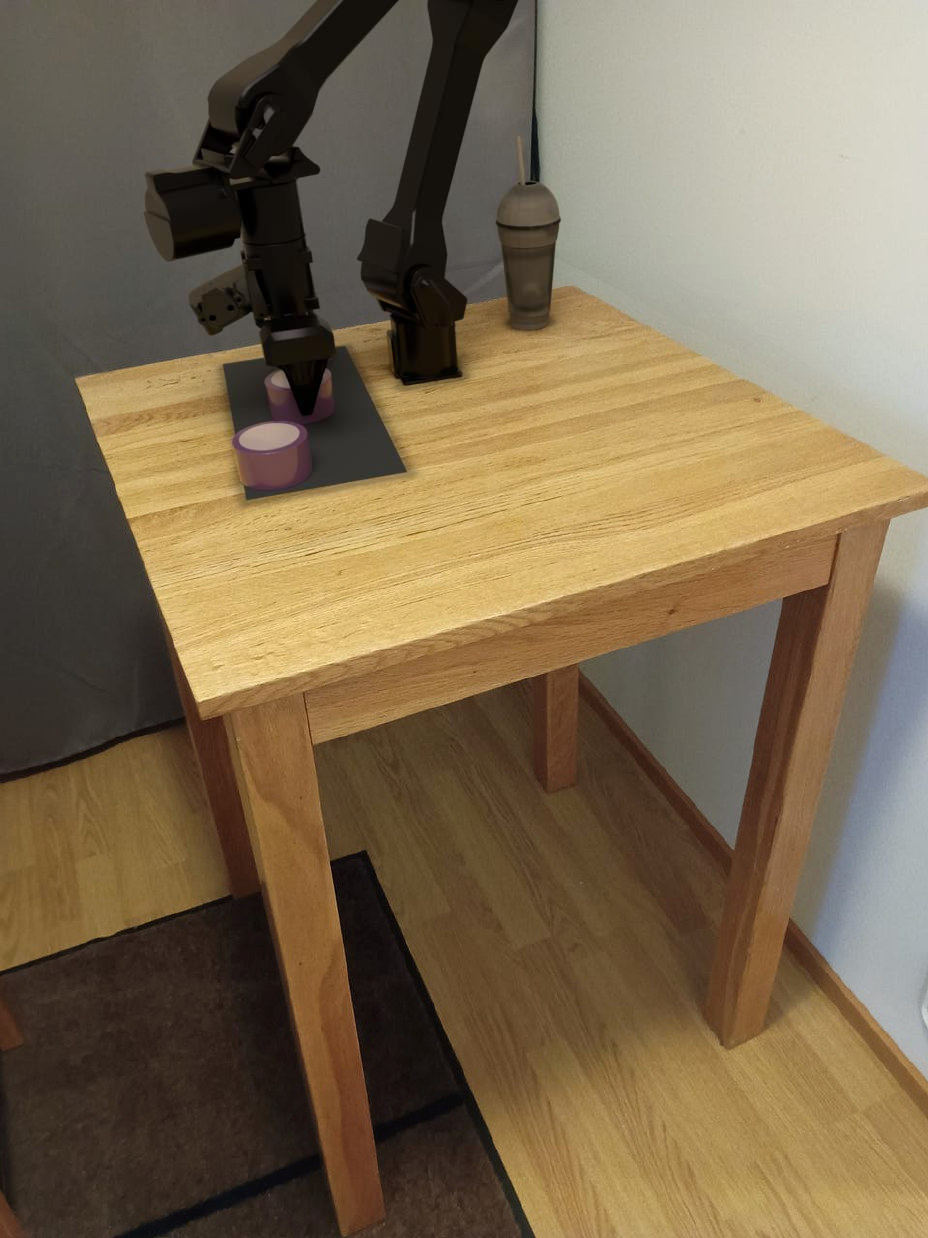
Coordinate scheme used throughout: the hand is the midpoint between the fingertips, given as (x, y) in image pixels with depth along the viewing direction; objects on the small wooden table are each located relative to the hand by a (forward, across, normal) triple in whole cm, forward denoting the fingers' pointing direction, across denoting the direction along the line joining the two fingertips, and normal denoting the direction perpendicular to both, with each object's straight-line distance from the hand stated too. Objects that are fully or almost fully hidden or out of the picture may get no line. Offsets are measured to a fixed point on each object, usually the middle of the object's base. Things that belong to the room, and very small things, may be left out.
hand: (302, 401), depth 92 cm
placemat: (+1, 0, 0) cm, 1 cm away
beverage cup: (+2, -16, +29) cm, 33 cm away
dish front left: (+1, 0, 0) cm, 1 cm away
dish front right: (+1, +12, -4) cm, 13 cm away
